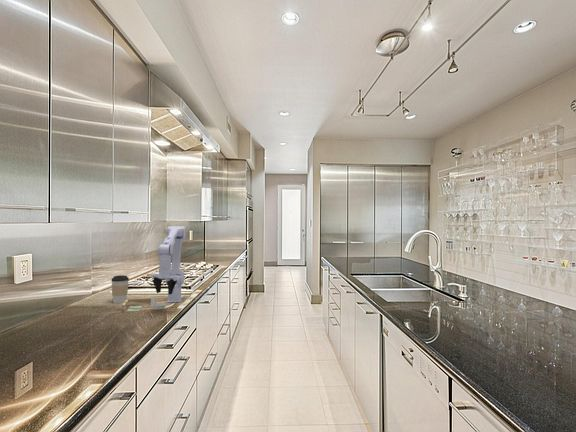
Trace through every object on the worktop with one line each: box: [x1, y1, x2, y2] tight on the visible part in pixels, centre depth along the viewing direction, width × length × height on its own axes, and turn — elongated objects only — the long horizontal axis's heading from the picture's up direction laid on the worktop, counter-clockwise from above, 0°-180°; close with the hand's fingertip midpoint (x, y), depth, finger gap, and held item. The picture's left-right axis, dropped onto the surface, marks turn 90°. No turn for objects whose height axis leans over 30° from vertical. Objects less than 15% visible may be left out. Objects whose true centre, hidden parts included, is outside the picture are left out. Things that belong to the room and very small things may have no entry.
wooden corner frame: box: [120, 297, 151, 313], centre depth 175 cm, size 13×14×4 cm
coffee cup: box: [111, 274, 130, 304], centre depth 187 cm, size 9×9×15 cm
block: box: [150, 296, 166, 311], centre depth 176 cm, size 7×4×6 cm, turn 107°
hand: (164, 293), depth 169 cm, fingers open, 7 cm apart
